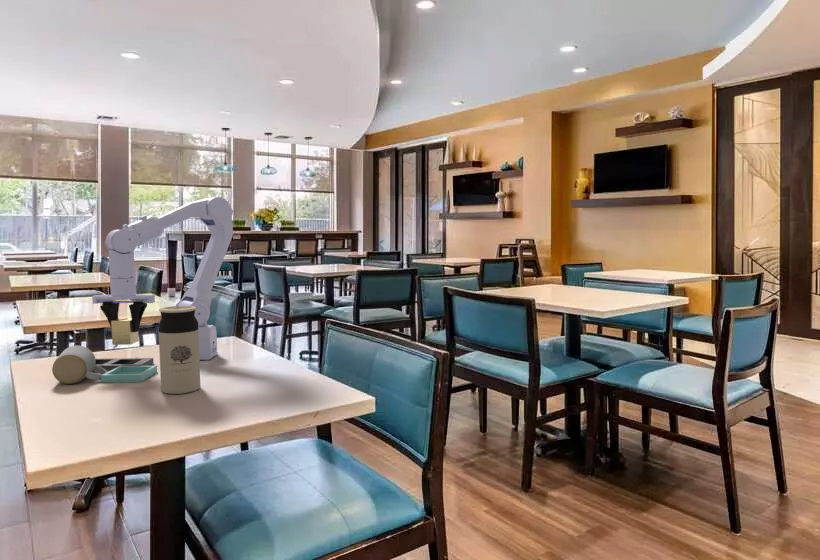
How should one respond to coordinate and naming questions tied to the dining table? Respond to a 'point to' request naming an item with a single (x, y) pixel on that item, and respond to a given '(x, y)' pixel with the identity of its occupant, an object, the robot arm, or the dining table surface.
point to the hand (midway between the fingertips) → (125, 331)
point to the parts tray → (129, 374)
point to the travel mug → (179, 350)
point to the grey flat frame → (122, 362)
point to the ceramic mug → (76, 365)
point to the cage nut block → (123, 332)
